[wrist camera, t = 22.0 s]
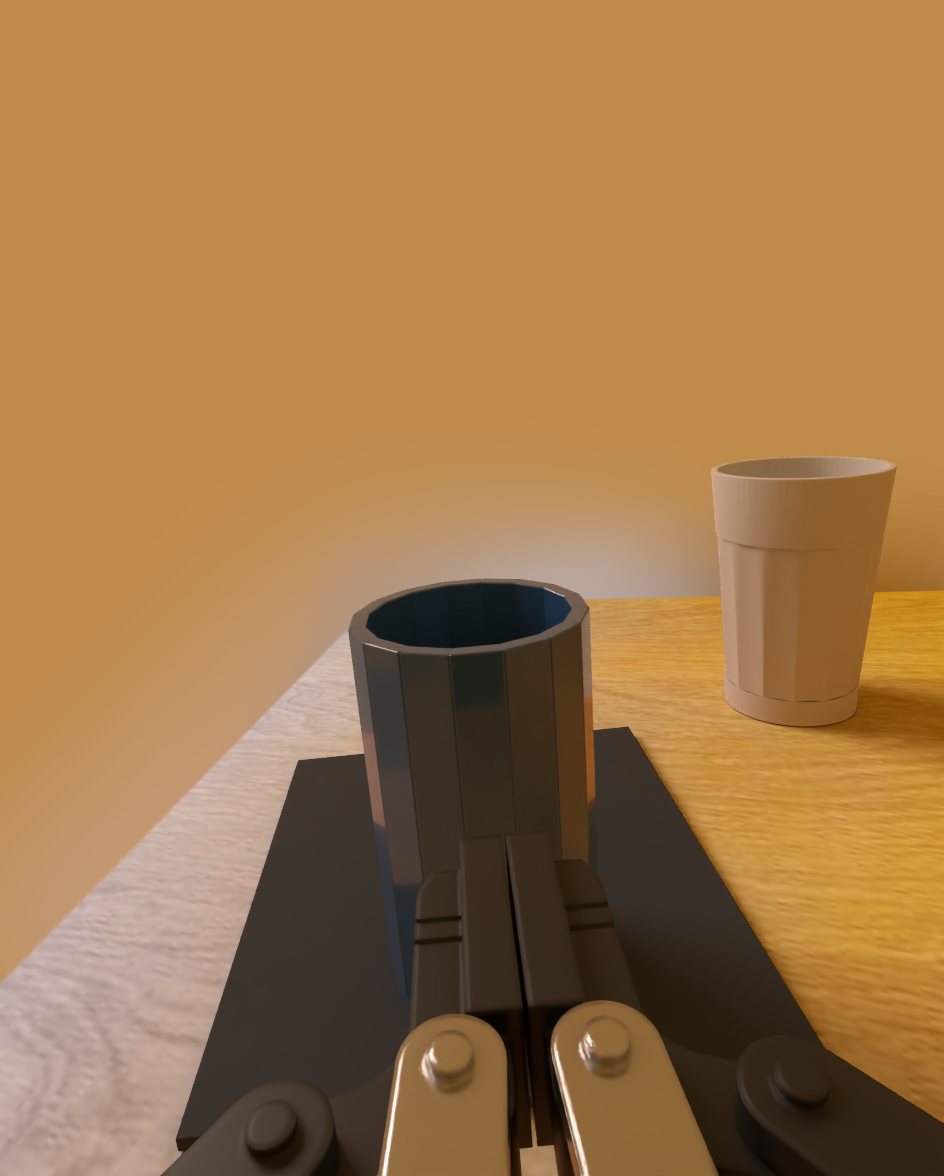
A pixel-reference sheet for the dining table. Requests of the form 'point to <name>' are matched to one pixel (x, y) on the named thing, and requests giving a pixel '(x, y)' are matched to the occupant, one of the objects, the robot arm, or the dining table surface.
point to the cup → (798, 581)
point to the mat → (363, 961)
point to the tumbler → (472, 730)
